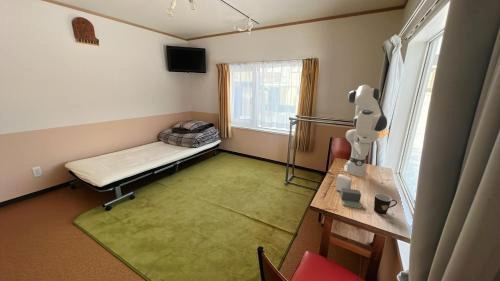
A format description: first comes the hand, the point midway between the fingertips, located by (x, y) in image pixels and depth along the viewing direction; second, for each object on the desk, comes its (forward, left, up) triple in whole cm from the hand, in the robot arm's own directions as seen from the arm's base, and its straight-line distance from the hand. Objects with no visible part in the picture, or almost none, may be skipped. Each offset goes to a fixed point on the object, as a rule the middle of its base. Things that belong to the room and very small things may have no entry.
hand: (358, 157), depth 126 cm
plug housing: (+4, -2, -28) cm, 28 cm away
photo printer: (-8, -5, -29) cm, 31 cm away
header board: (+4, -2, -29) cm, 29 cm away
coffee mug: (+12, +15, -29) cm, 35 cm away
